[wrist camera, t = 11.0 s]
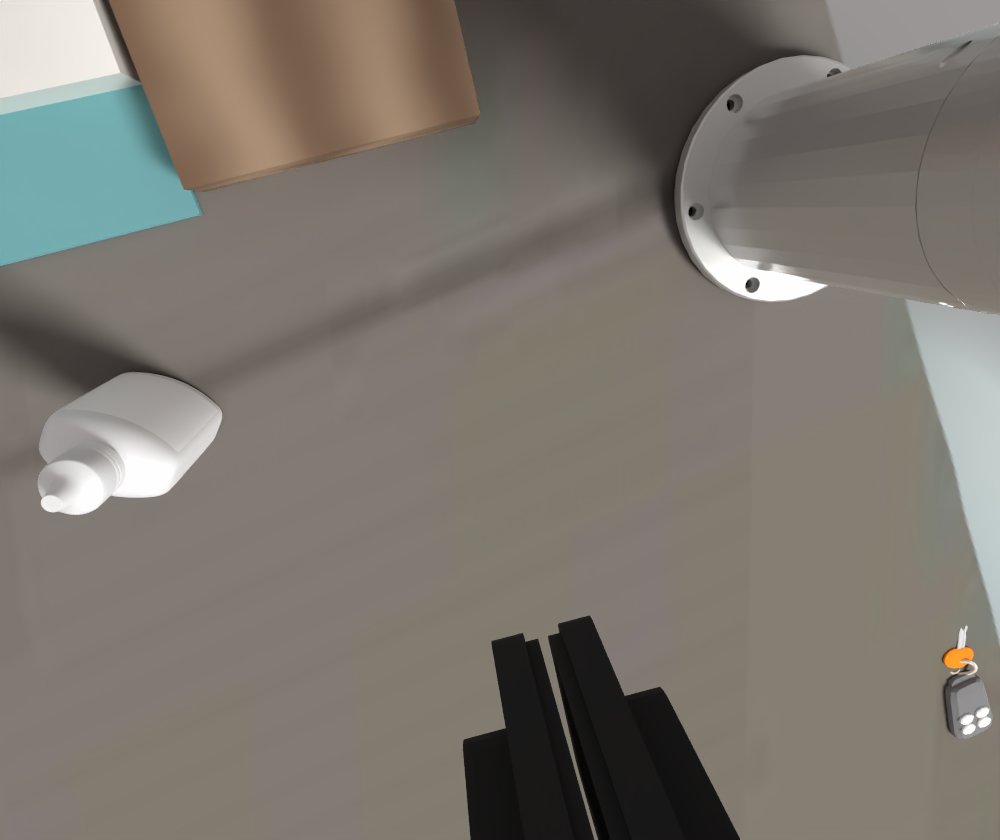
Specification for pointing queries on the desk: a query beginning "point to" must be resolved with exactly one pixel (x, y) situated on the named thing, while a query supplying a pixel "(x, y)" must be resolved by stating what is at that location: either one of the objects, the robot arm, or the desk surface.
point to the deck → (294, 79)
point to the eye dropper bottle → (123, 441)
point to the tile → (60, 52)
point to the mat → (85, 174)
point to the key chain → (965, 694)
